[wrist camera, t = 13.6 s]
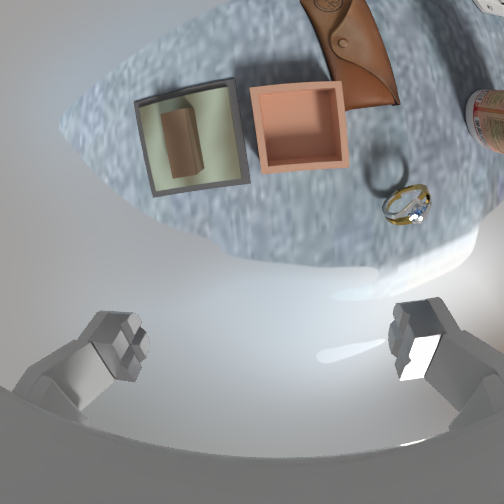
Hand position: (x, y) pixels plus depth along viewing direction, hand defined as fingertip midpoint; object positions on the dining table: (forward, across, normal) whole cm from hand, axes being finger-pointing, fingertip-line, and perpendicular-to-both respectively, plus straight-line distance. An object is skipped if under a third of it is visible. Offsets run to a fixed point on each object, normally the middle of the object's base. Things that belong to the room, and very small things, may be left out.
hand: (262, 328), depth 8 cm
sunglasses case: (+32, -11, -14) cm, 36 cm away
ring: (+31, -16, +6) cm, 35 cm away
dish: (+30, -3, -4) cm, 31 cm away
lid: (+30, +11, -4) cm, 32 cm away
